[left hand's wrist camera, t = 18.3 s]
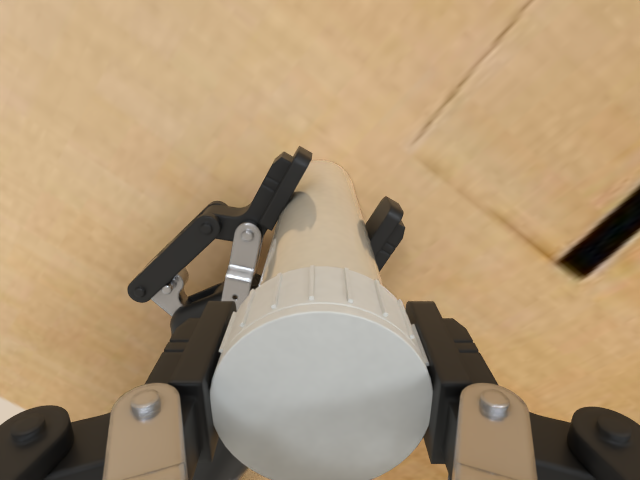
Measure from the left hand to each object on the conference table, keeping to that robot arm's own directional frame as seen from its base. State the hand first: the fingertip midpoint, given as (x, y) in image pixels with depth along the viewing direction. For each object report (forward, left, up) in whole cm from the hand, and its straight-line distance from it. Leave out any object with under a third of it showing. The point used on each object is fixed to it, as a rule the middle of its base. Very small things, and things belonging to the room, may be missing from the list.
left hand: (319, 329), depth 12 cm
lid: (0, 0, +3) cm, 3 cm away
